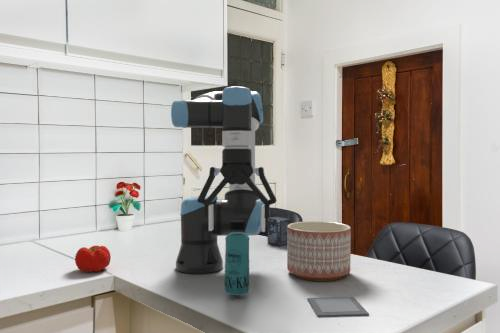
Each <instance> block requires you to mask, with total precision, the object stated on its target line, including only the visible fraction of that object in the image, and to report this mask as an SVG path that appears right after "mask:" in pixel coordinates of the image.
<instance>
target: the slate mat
mask: <svg viewBox="0 0 500 333" xmlns="http://www.w3.org/2000/svg"><path fill="white" fill-rule="evenodd" d="M306 299H307V301H308V303H309V305H310V307H311V309H312V310H313V312H314V313H315V314H316V317H321V318H323V317H326V318H327V317H329V318H330V317H357V316H358V317H359V316H360V317H361V316H362V317H363V316H370V313H369V312H368V311H367V310H366V309H365V308H364V307H363V305H362V304H361V303H360V301H358V300H357V299H356V297H355V296H330V297H329V296H324V297H320V296H319V297H306Z"/></svg>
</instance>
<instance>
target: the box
mask: <svg viewBox="0 0 500 333" xmlns="http://www.w3.org/2000/svg"><path fill="white" fill-rule="evenodd" d="M289 224H291V219H290V218H285V217H280V216H273V217H269V218H267V244H268V245H269V244H270V245H274V246H278V247H285V246H287V226H288V225H289Z"/></svg>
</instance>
